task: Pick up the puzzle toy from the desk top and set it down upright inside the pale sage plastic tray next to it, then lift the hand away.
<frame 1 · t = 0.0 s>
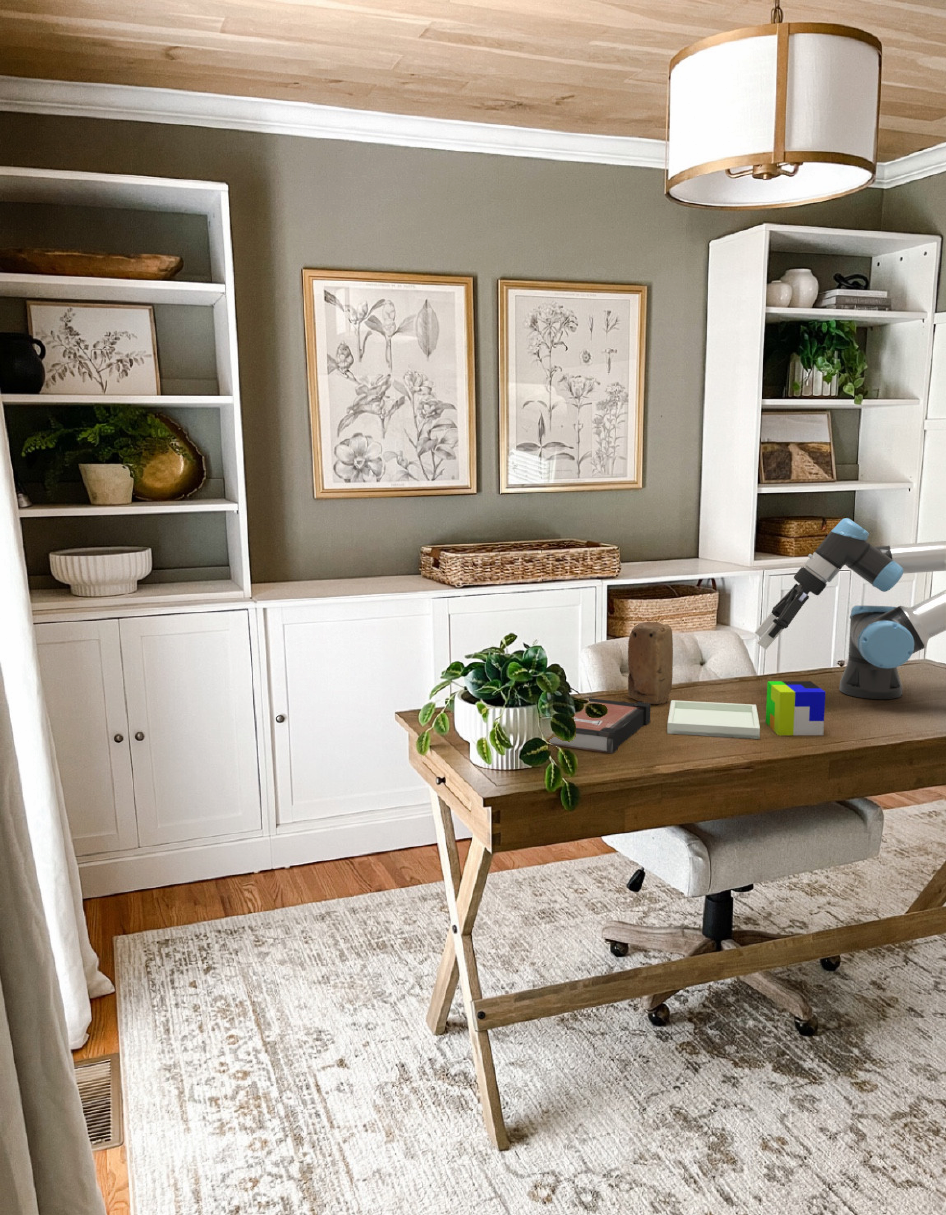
hand: (760, 641, 240), 15 cm above the table, tool tilted 35°, fingers open, 13 cm apart
block: (648, 701, 243), on the table
tray: (712, 723, 222), on the table
puzzle toy: (793, 729, 217), on the table
book: (595, 734, 217), on the table
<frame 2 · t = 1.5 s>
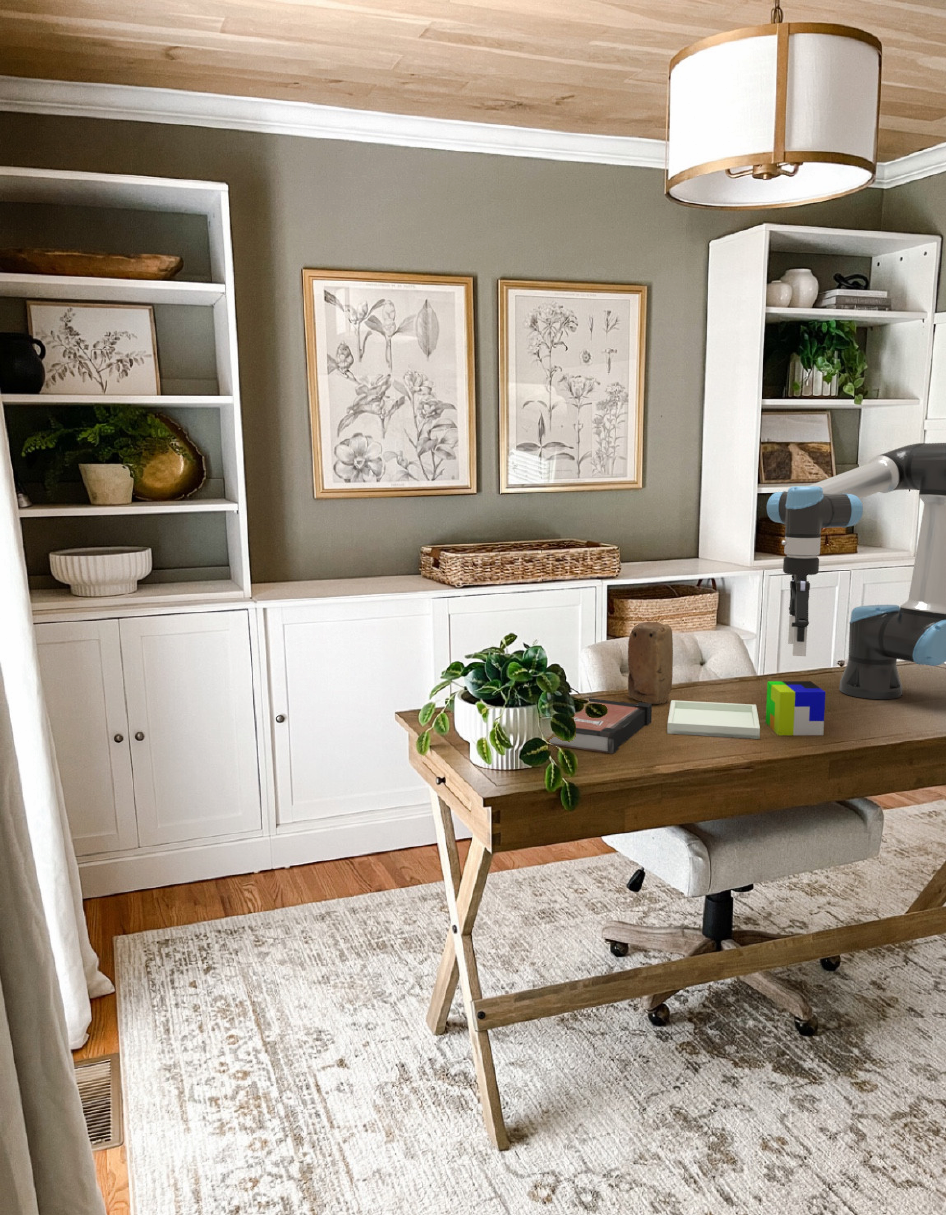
hand: (796, 649, 214), 18 cm above the table, tool pointing down, fingers open, 13 cm apart
nothing on the table moved.
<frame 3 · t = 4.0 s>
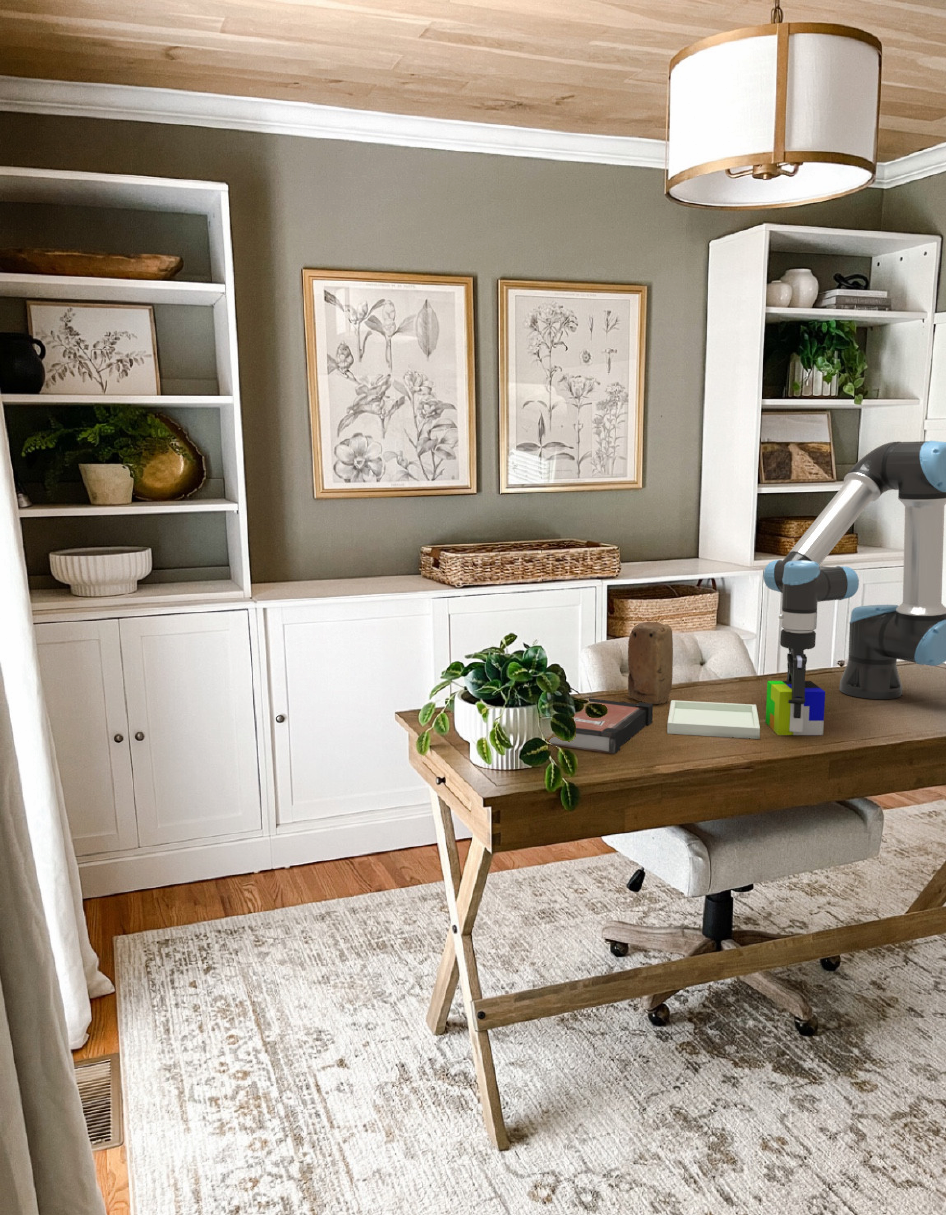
hand: (793, 724, 217), 1 cm above the table, tool pointing down, fingers closed on puzzle toy, 11 cm apart
puzzle toy: (793, 729, 217), on the table, touching gripper
everything else where it was.
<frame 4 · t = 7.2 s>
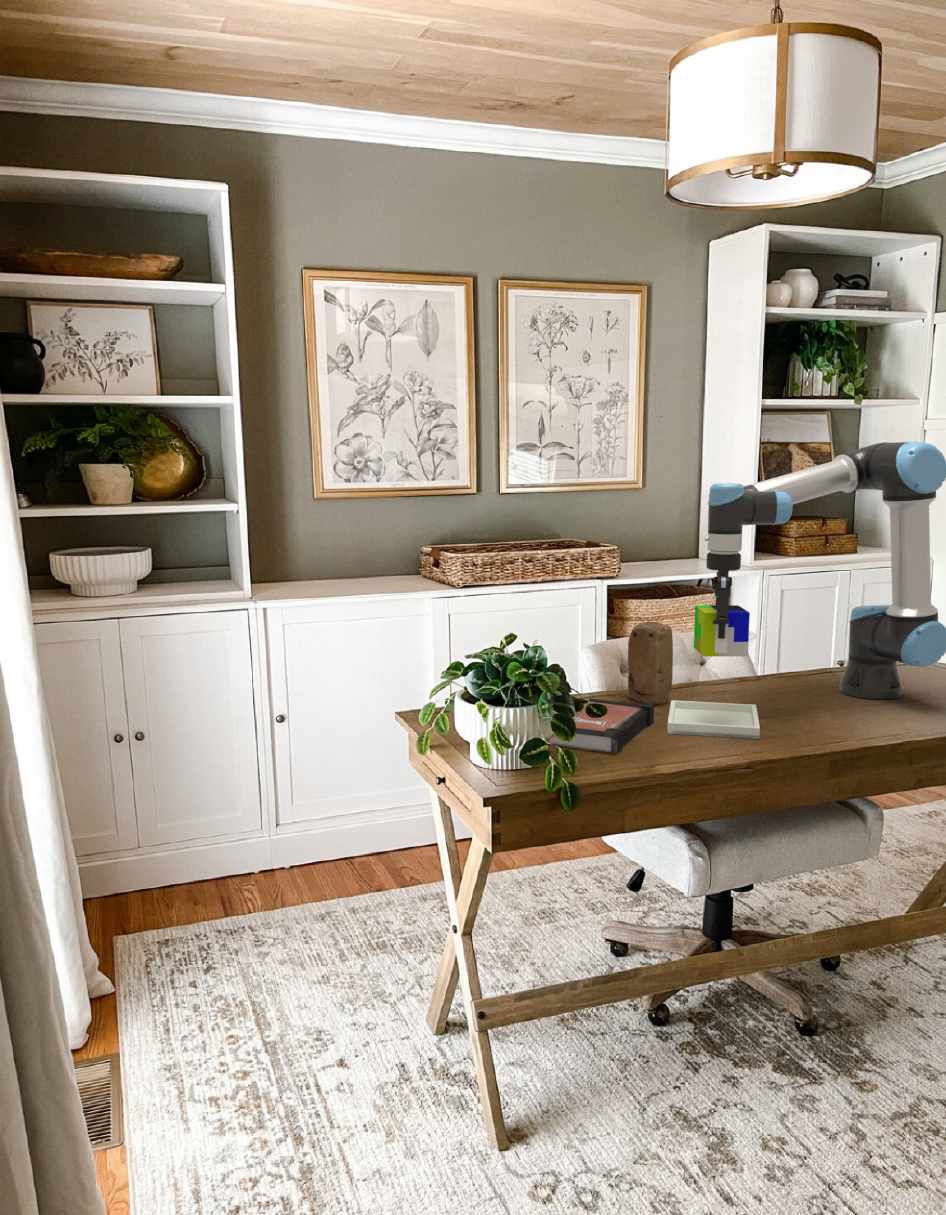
hand: (720, 647, 218), 18 cm above the table, tool pointing down, fingers closed on puzzle toy, 11 cm apart
puzzle toy: (720, 652, 218), point 17 cm above the table, touching gripper
everything else where it was.
when the fingers open (3 cm above the table, at t = 10.6 s): puzzle toy drops 2 cm, resting on tray.
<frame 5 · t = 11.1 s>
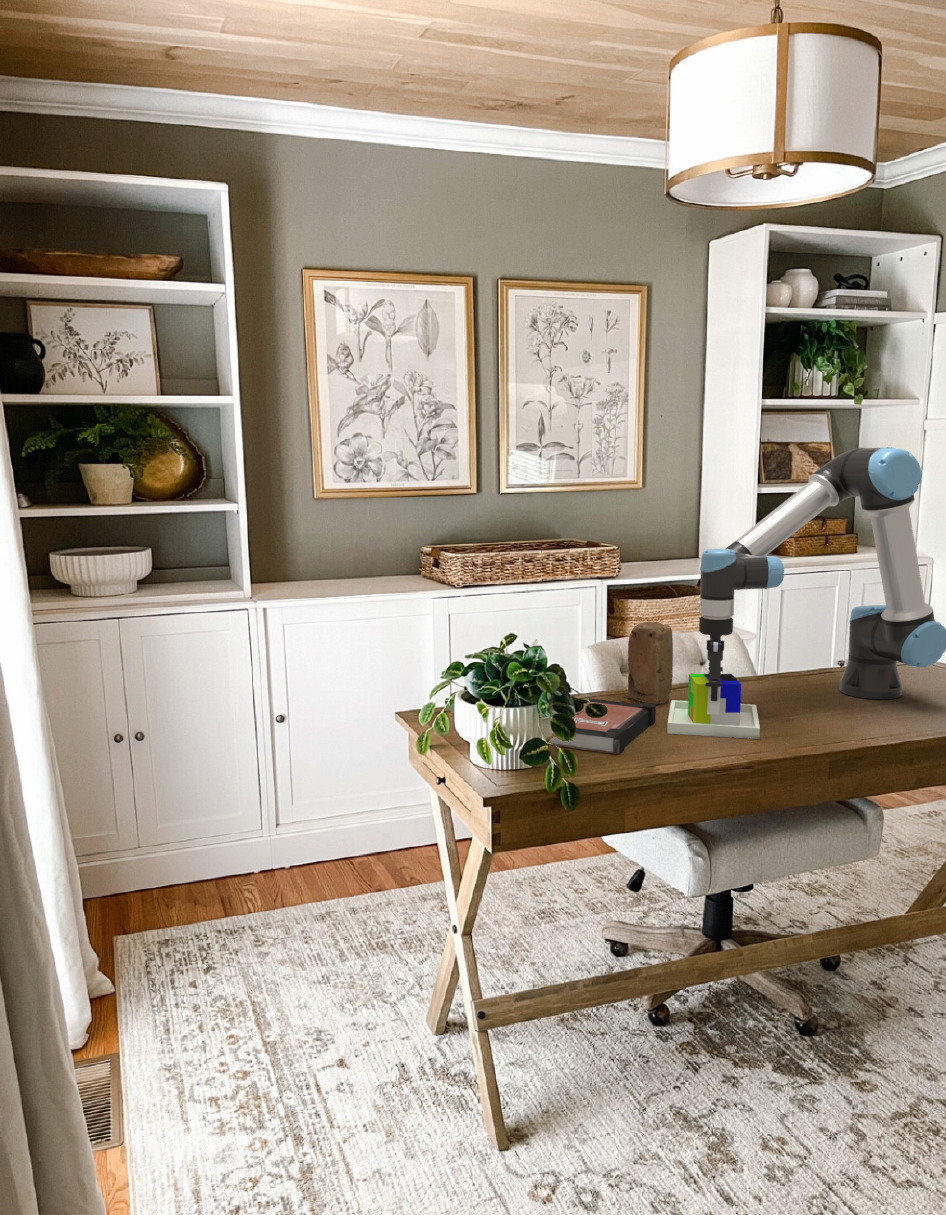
hand: (713, 706, 221), 4 cm above the table, tool pointing down, fingers open, 13 cm apart
puzzle toy: (713, 721, 222), point 1 cm above the table, touching tray
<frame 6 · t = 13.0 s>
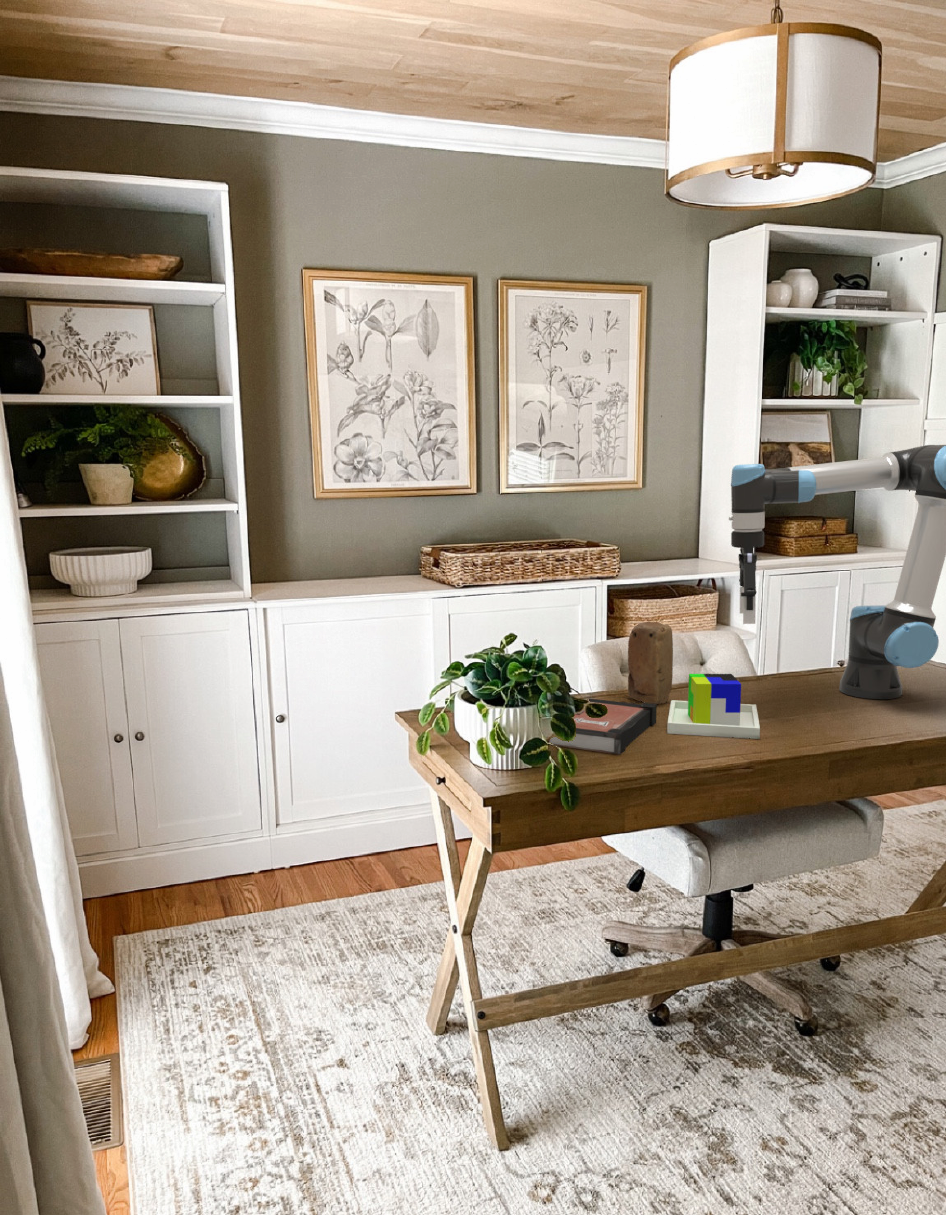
hand: (747, 618, 228), 23 cm above the table, tool pointing down, fingers open, 13 cm apart
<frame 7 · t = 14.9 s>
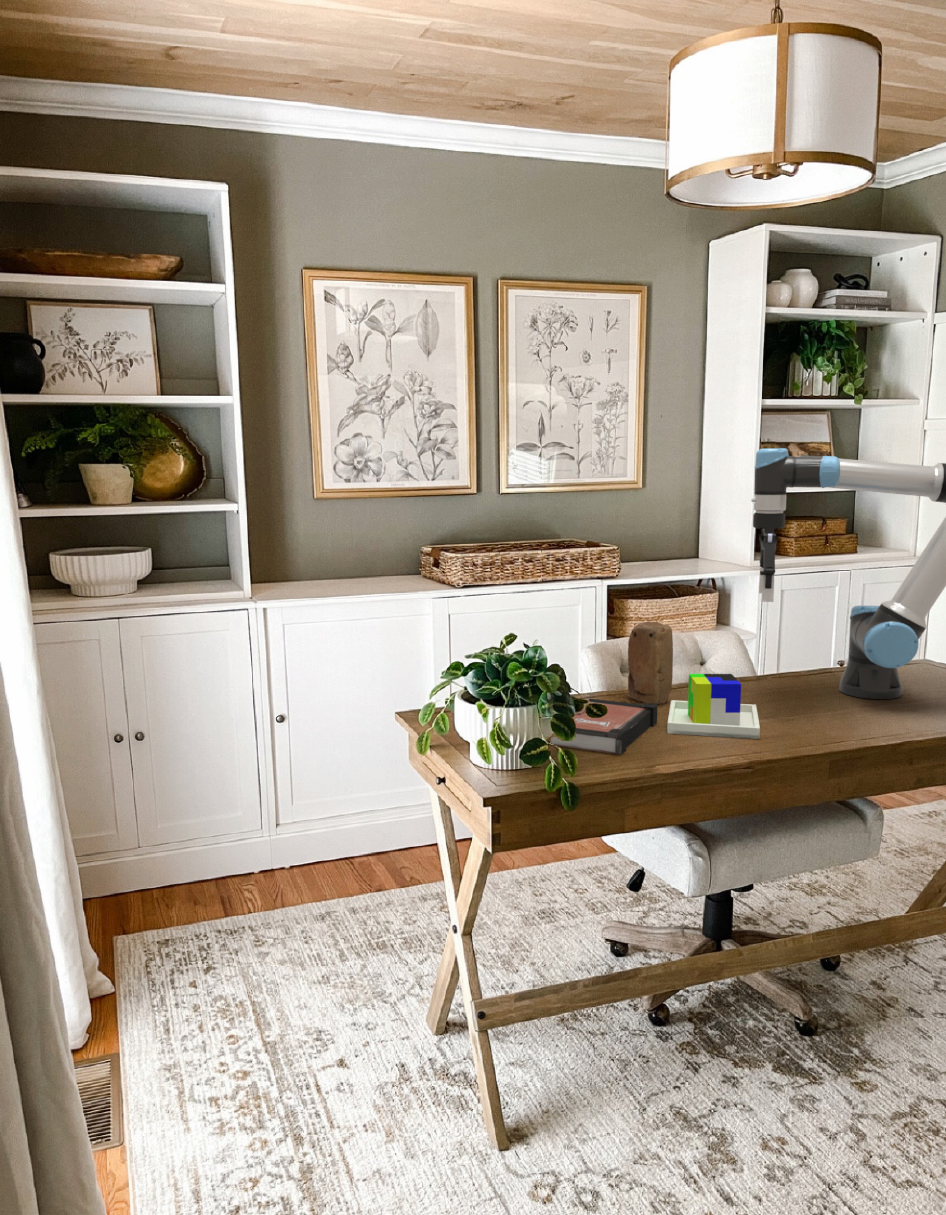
hand: (765, 597, 236), 27 cm above the table, tool pointing down, fingers open, 13 cm apart
at the end: puzzle toy inside the target area on the tray (0.0 cm from its centre), point 0.6 cm above the tray's base; puzzle toy tilted 0°; the gripper is holding nothing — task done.
